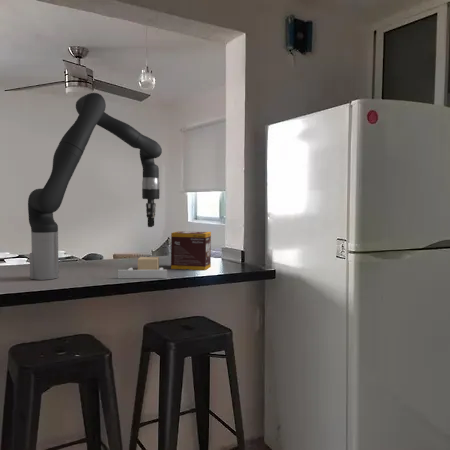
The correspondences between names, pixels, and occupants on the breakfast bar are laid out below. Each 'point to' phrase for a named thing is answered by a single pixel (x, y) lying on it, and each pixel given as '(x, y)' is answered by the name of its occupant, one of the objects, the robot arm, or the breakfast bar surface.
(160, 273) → the display stand
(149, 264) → the carton
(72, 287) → the breakfast bar surface
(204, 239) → the supplement box
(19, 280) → the breakfast bar surface
